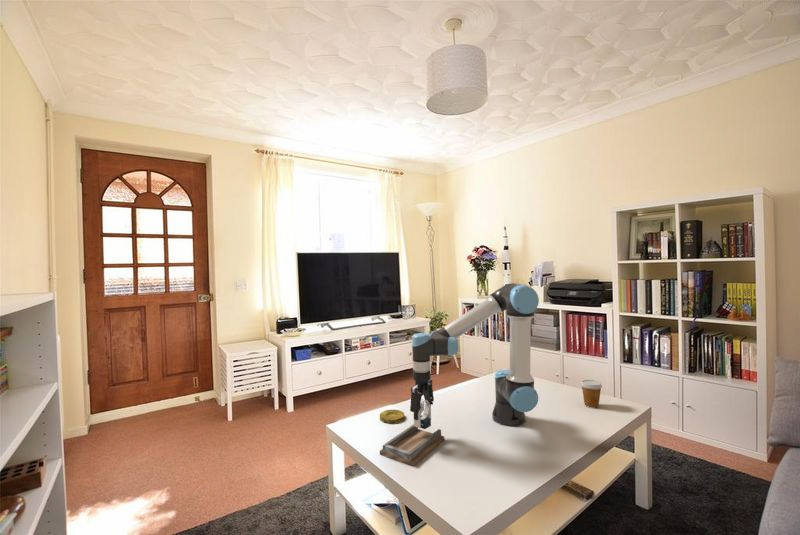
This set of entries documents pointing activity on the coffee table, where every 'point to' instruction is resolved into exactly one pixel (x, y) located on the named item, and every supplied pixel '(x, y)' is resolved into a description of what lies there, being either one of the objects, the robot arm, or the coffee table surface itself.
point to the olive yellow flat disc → (391, 416)
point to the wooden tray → (412, 445)
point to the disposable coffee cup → (591, 392)
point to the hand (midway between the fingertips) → (422, 422)
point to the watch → (424, 414)
